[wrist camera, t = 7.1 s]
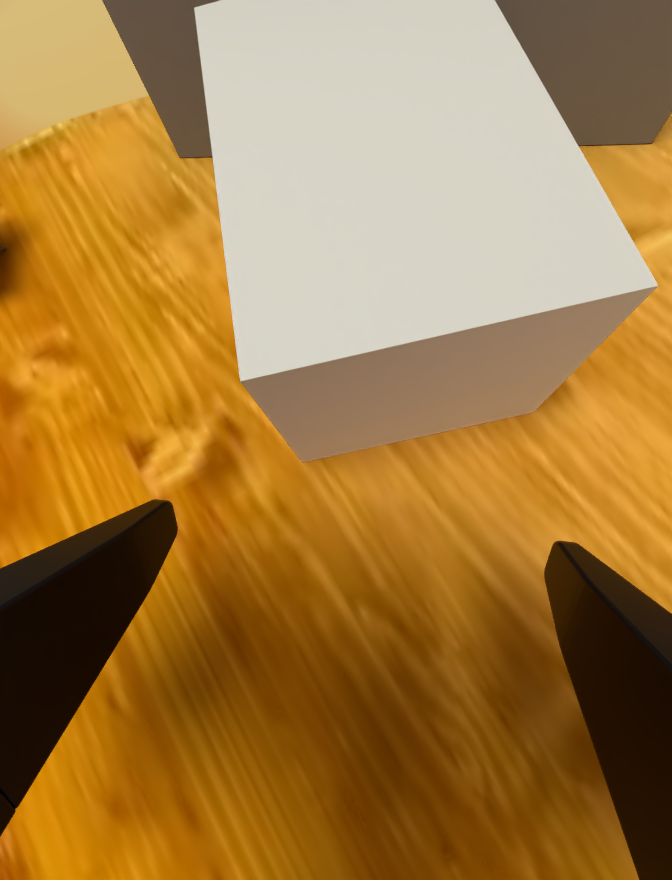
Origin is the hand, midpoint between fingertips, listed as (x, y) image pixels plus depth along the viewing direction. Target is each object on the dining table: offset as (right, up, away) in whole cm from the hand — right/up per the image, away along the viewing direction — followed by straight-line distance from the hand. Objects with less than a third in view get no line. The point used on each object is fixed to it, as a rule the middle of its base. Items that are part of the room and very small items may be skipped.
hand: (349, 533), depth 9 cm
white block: (+2, +10, +10) cm, 14 cm away
